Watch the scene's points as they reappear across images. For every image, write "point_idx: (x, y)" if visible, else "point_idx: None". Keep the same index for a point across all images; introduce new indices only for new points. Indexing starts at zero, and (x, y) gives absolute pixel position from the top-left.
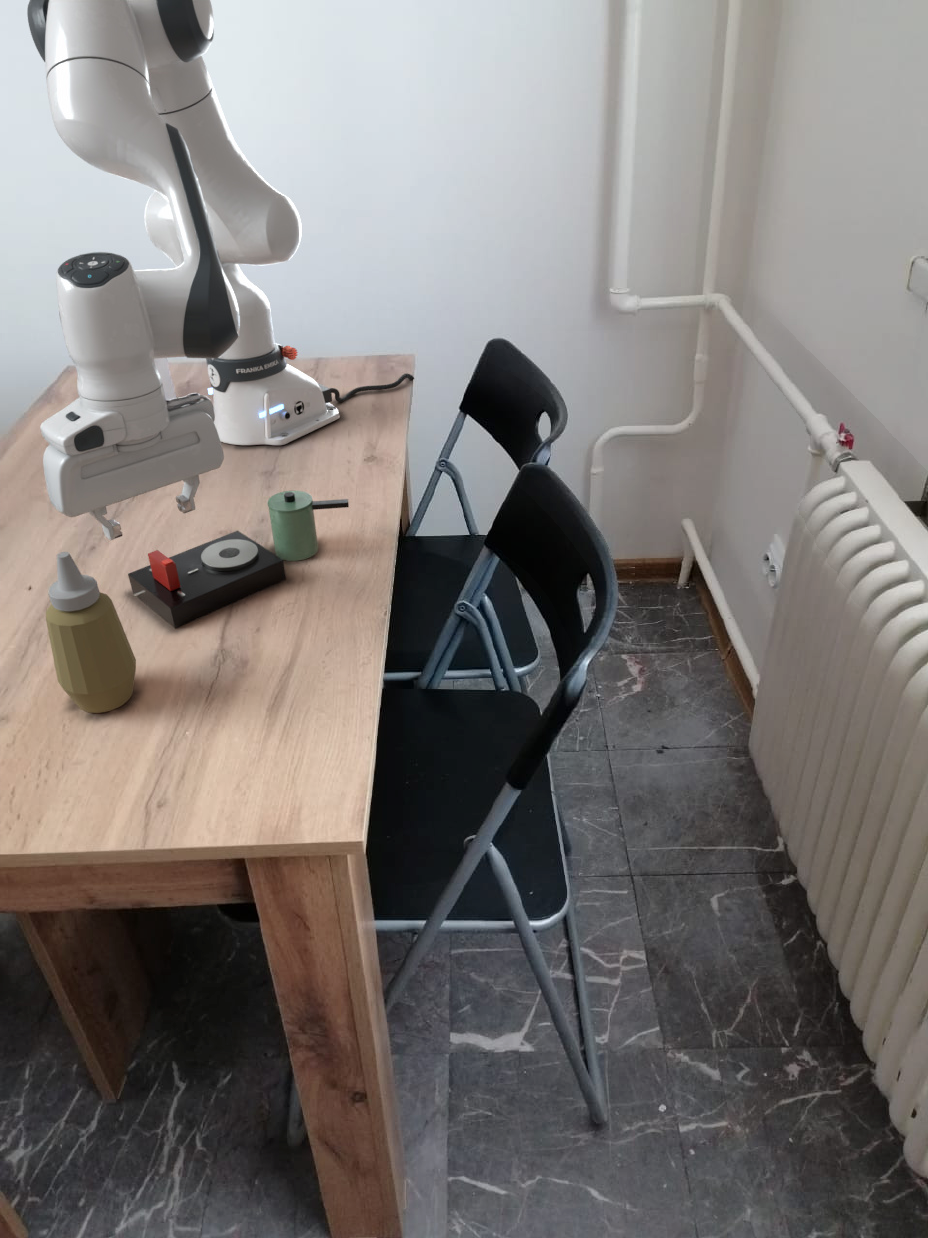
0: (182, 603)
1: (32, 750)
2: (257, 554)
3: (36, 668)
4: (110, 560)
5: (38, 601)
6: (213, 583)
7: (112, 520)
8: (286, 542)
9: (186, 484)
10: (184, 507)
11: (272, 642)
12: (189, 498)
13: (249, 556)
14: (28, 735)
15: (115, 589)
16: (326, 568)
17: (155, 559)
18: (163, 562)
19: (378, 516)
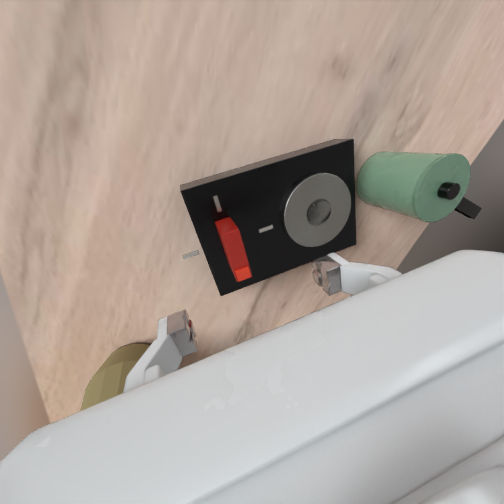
0: (235, 290)
1: (68, 408)
2: (342, 227)
3: (49, 304)
4: (151, 41)
5: (13, 129)
6: (277, 264)
7: (183, 334)
8: (378, 203)
9: (366, 279)
10: (322, 285)
11: (286, 323)
12: (343, 291)
13: (333, 231)
14: (60, 393)
15: (155, 158)
16: (377, 230)
17: (229, 257)
18: (238, 276)
19: (472, 148)
